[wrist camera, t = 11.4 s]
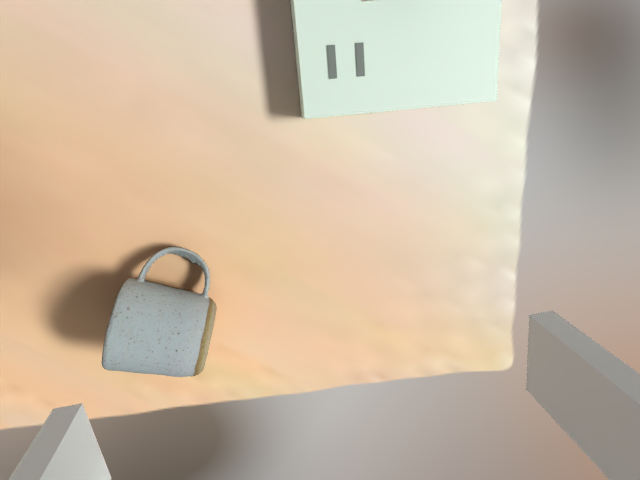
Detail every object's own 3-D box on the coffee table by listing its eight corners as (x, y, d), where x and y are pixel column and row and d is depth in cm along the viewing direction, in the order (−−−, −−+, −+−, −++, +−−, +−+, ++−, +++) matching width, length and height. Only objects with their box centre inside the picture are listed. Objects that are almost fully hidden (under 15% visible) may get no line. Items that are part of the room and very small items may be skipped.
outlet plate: (301, 117, 37) (304, 119, 34) (280, -108, 32) (282, -128, 29) (479, 100, 39) (497, 100, 36) (487, -117, 33) (508, -138, 30)
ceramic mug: (207, 351, 43) (197, 401, 36) (121, 337, 41) (91, 387, 34) (229, 252, 40) (222, 285, 33) (138, 234, 39) (109, 263, 31)
